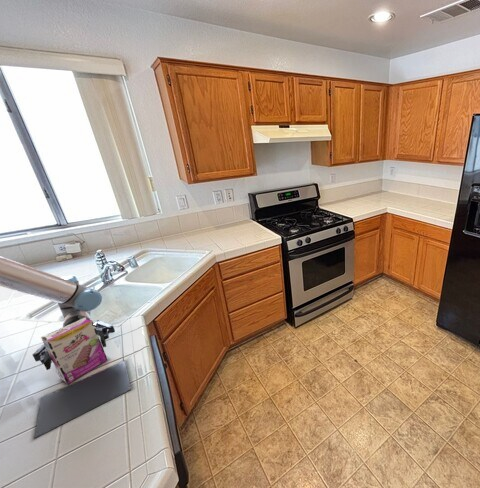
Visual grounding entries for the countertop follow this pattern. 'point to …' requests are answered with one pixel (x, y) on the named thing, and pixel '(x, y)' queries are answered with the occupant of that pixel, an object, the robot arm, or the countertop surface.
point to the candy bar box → (75, 349)
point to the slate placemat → (81, 397)
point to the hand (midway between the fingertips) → (76, 354)
